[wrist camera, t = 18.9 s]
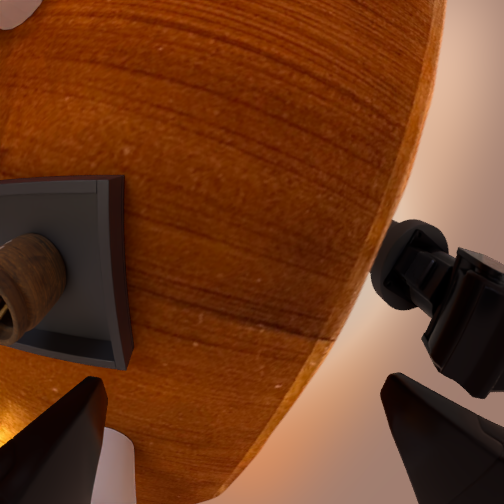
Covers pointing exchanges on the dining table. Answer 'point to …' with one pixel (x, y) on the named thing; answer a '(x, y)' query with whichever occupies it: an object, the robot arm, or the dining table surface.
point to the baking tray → (76, 264)
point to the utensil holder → (28, 284)
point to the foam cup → (115, 471)
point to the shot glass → (16, 12)
